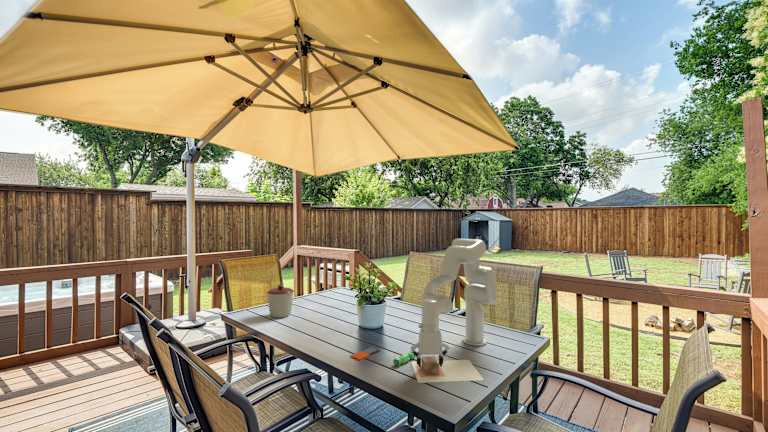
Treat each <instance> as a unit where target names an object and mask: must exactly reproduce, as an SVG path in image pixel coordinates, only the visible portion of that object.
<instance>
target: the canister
mask: <svg viewBox="0 0 768 432" xmlns="http://www.w3.org/2000/svg"><path fill="white" fill-rule="evenodd" d="M294 292H295V290H294V289H293V288H290V287H284V285H283V284H278V285H277V287H275V288H274V287H273V288H271V289H269V290H268V291H266V292H265V293H266V295H267V302H268V310H269V315H270V316H271V317H272V318H275V319H276V318H277V319H282V318H287V317H289V316H290V315H291V313H292V309H293V308H292V307H293V299H294Z"/></svg>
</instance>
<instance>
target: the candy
mask: <svg viewBox="0 0 768 432" xmlns="http://www.w3.org/2000/svg"><path fill="white" fill-rule="evenodd" d="M415 358H416V356H415V355H414V354H413V352H412V350H411V351H409V352H408V353H405V354H402V355H401V356H399V358H394V360H392V362H393V365H394V366H398V367H400V366H401V364H403V365H404V364H406V363H408V362H409V361H410V360H414V359H415Z"/></svg>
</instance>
